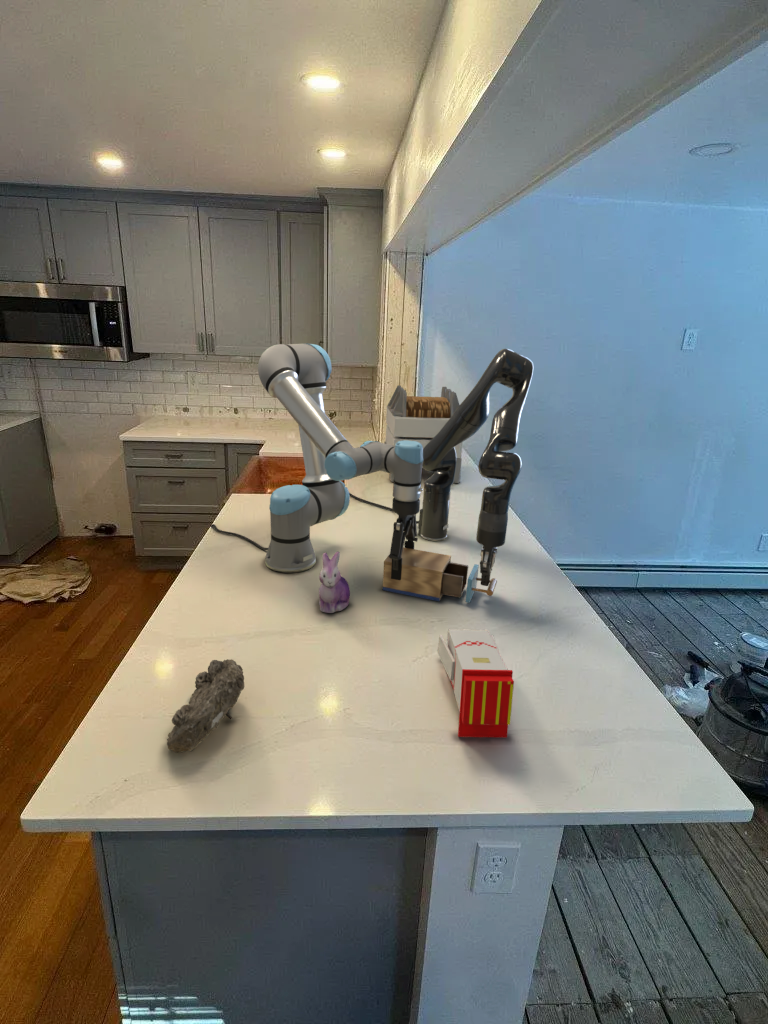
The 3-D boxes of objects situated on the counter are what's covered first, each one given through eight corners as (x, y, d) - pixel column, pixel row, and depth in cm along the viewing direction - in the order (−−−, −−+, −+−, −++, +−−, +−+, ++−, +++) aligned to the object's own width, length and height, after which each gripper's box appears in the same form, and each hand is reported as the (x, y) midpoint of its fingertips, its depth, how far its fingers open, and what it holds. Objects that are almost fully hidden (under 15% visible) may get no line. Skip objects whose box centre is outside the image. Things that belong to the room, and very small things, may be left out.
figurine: (324, 618, 144) (324, 564, 139) (310, 599, 152) (310, 548, 147) (358, 610, 148) (359, 558, 143) (342, 593, 156) (343, 543, 151)
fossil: (192, 660, 117) (244, 628, 112) (224, 691, 120) (276, 661, 115) (142, 746, 98) (202, 712, 93) (182, 779, 101) (242, 748, 96)
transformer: (382, 463, 289) (386, 382, 275) (445, 464, 293) (451, 384, 279) (390, 482, 257) (394, 392, 243) (460, 483, 261) (468, 394, 247)
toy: (488, 613, 130) (523, 677, 101) (484, 667, 133) (517, 744, 104) (435, 612, 130) (455, 676, 101) (432, 666, 133) (451, 743, 103)
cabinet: (448, 583, 165) (451, 555, 162) (439, 601, 155) (442, 571, 152) (394, 573, 170) (396, 546, 167) (382, 590, 160) (383, 560, 157)
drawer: (496, 590, 160) (499, 568, 158) (490, 607, 151) (493, 583, 149) (425, 577, 166) (426, 555, 164) (415, 592, 157) (417, 569, 155)
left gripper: (407, 513, 143) (402, 590, 150) (430, 488, 164) (425, 556, 172) (379, 509, 145) (376, 585, 153) (405, 484, 166) (402, 552, 174)
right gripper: (503, 537, 142) (494, 598, 148) (509, 520, 154) (502, 577, 160) (473, 532, 144) (466, 592, 150) (482, 515, 156) (475, 572, 162)
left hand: (402, 570), depth 162 cm, fingers closed on cabinet, 11 cm apart
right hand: (484, 584), depth 155 cm, fingers closed
